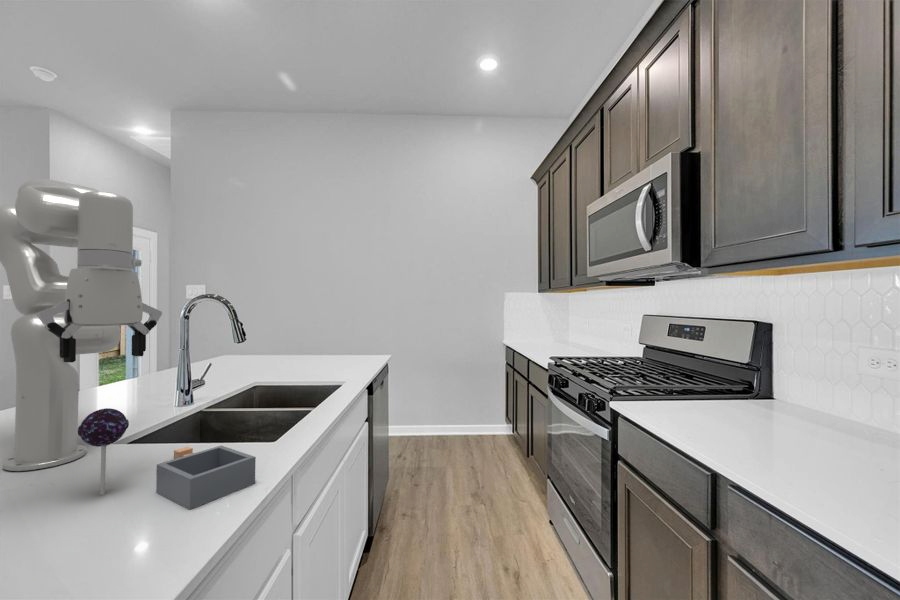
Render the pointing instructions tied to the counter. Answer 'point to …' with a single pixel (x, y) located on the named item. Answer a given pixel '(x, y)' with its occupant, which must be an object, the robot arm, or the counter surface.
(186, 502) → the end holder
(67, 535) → the counter surface
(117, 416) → the lollipop
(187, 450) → the cable run
